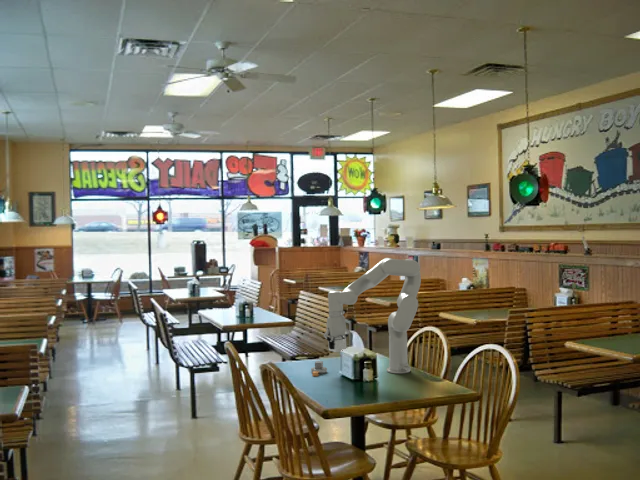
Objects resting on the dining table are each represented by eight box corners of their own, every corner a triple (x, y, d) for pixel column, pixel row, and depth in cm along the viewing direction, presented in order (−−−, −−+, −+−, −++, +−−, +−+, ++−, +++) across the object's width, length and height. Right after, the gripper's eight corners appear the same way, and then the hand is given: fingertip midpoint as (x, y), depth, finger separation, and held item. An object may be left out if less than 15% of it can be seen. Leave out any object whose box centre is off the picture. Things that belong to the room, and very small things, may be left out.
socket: (346, 350, 328) (345, 336, 328) (335, 352, 325) (335, 338, 325) (339, 348, 334) (338, 335, 334) (328, 350, 331) (328, 336, 330)
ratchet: (322, 376, 323) (322, 365, 323) (307, 375, 325) (307, 365, 325) (328, 370, 336) (328, 360, 336) (313, 370, 338) (313, 359, 338)
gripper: (345, 311, 337) (347, 344, 337) (318, 315, 328) (319, 349, 328) (353, 313, 330) (355, 346, 331) (325, 316, 321) (327, 351, 322)
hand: (337, 347), depth 330 cm, fingers closed on socket, 6 cm apart
